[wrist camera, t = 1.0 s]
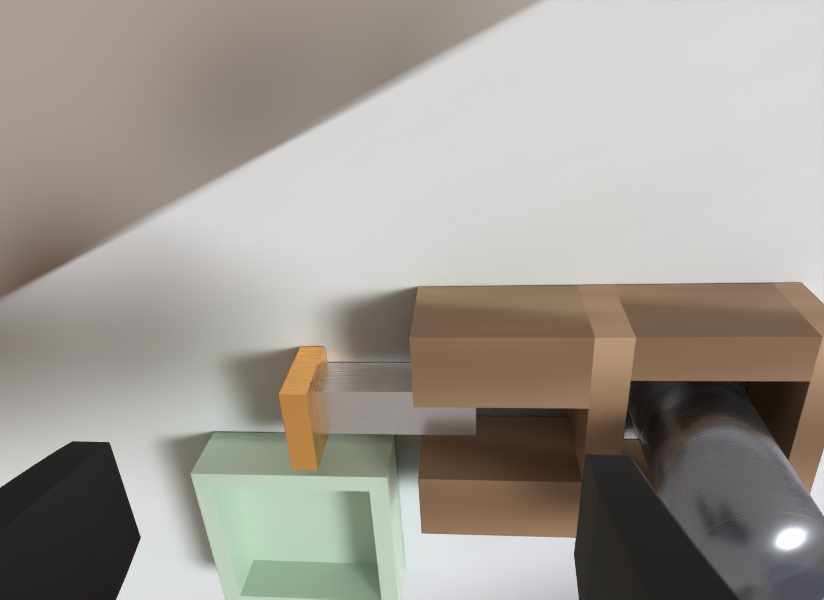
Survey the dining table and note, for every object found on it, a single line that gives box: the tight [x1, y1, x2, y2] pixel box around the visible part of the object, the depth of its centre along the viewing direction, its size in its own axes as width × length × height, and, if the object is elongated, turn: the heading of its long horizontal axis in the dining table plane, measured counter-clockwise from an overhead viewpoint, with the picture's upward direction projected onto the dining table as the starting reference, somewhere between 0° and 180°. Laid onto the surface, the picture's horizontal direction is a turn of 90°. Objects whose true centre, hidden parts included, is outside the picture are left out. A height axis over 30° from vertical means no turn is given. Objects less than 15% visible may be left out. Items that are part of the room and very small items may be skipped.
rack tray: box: [190, 432, 405, 600], centre depth 23 cm, size 6×6×2 cm
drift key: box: [279, 347, 476, 470], centre depth 20 cm, size 3×6×3 cm, turn 93°
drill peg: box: [627, 381, 824, 600], centre depth 17 cm, size 3×3×7 cm
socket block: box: [409, 283, 824, 538], centre depth 19 cm, size 7×11×3 cm, turn 93°
